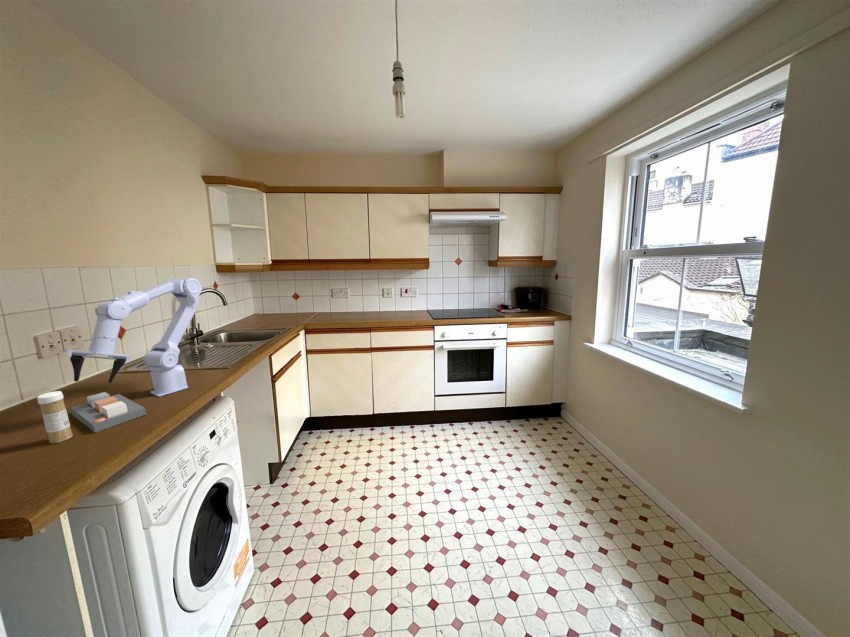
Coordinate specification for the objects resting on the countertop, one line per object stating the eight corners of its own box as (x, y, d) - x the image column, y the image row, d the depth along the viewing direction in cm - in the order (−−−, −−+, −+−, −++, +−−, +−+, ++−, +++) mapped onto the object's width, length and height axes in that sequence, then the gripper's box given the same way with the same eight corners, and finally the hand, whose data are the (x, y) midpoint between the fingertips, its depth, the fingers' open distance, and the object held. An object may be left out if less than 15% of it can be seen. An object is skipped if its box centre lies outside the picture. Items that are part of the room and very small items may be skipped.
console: (120, 400, 117) (118, 393, 117) (146, 415, 105) (144, 407, 104) (72, 414, 107) (70, 406, 107) (95, 432, 95) (92, 423, 94)
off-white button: (123, 411, 105) (120, 400, 104) (128, 414, 102) (126, 403, 102) (104, 417, 101) (101, 406, 100) (109, 420, 99) (106, 409, 98)
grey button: (107, 401, 113) (104, 392, 112) (111, 404, 110) (109, 394, 110) (88, 406, 109) (86, 397, 108) (93, 409, 107) (90, 399, 106)
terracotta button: (114, 406, 109) (112, 396, 108) (119, 409, 106) (117, 399, 106) (96, 411, 105) (93, 401, 104) (100, 414, 103) (98, 404, 102)
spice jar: (60, 436, 94) (48, 391, 91) (78, 434, 94) (66, 389, 92) (44, 445, 89) (31, 398, 87) (62, 443, 90) (50, 396, 87)
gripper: (69, 334, 98) (56, 381, 96) (133, 341, 107) (123, 384, 104) (74, 335, 104) (62, 379, 101) (135, 341, 112) (125, 382, 110)
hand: (93, 382), depth 103 cm, fingers open, 7 cm apart
